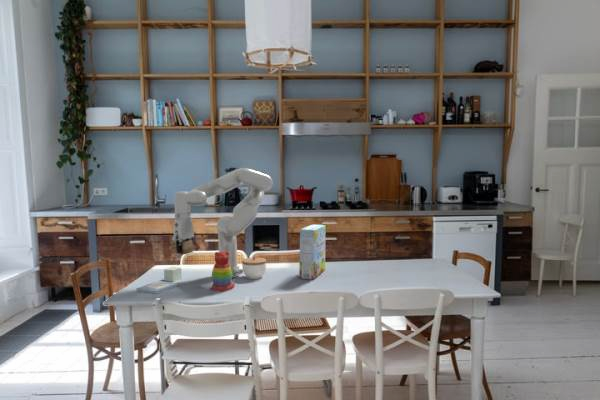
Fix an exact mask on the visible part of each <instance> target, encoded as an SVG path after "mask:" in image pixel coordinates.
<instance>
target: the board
mask: <svg viewBox="0 0 600 400" xmlns="http://www.w3.org/2000/svg"><path fill="white" fill-rule="evenodd" d="M176 287H178V283H176V282H170V281H164V280H163V281H162V280H157V281H153V282H152V283H147V284H146V285H145V284H144V285H142V286H140V287H137V288H136V292H143V293H149V294H156V295H157V294H160V293H162V292H164V291H167V290H170V289H174V288H176Z"/></svg>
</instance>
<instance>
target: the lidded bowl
mask: <svg viewBox="0 0 600 400" xmlns="http://www.w3.org/2000/svg"><path fill="white" fill-rule="evenodd" d="M241 264H242V270H243V274H244V275H245V276H246V277H247V279H250V280H258V279H261V278H262V276H264V274H265V273H266V270H267V259H266V258H264V257H256V255H253V256H252V257H248V258H244V259H242V261H241Z"/></svg>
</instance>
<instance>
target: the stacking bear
mask: <svg viewBox="0 0 600 400" xmlns="http://www.w3.org/2000/svg"><path fill="white" fill-rule="evenodd" d="M228 255H229V253H228V252H219V251H215V253H214V262H215V264H213V268H212V272H211V279H212V280H211V281H212V284H211V290H213V291H214V292H227V291H231V290H232V289H234V288H235V287H236V286H235V283H234V282H232V279H233V277H232V271H231V267H230V265H229V264H228V261H229V256H228Z"/></svg>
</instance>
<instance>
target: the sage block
mask: <svg viewBox="0 0 600 400" xmlns="http://www.w3.org/2000/svg"><path fill="white" fill-rule="evenodd" d="M163 276H164V277H163V278H164V280H163V282H170V283H176V282H178V281H180V280H182V278H183V277H182V267H177V266H169V267H166V268H164V269H163Z"/></svg>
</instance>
